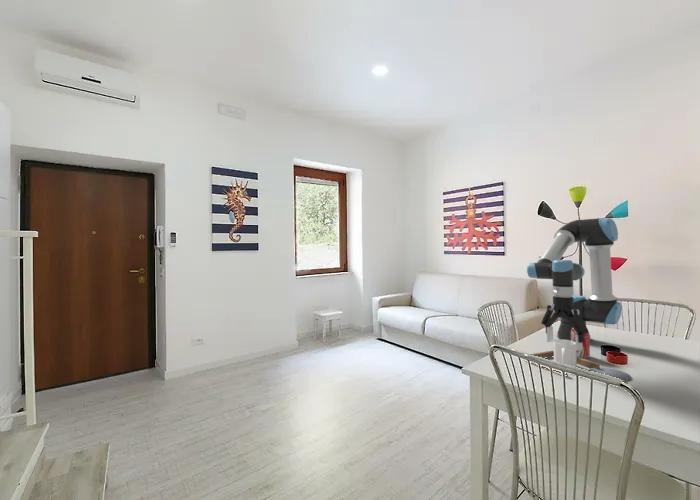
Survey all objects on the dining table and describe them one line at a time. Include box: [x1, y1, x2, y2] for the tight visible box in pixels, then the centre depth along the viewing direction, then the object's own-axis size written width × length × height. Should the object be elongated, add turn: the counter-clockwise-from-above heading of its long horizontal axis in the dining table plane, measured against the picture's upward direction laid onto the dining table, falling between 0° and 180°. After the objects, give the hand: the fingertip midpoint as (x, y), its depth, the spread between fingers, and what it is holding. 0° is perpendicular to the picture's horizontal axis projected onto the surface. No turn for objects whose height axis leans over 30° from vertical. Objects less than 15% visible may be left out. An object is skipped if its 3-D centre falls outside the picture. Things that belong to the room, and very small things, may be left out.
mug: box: [552, 338, 578, 368], centre depth 145 cm, size 12×8×10 cm
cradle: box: [529, 349, 600, 377], centre depth 147 cm, size 20×19×2 cm
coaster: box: [589, 367, 632, 382], centre depth 135 cm, size 13×13×1 cm
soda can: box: [571, 328, 591, 359], centre depth 157 cm, size 7×7×13 cm
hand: (563, 345), depth 144 cm, fingers open, 13 cm apart
